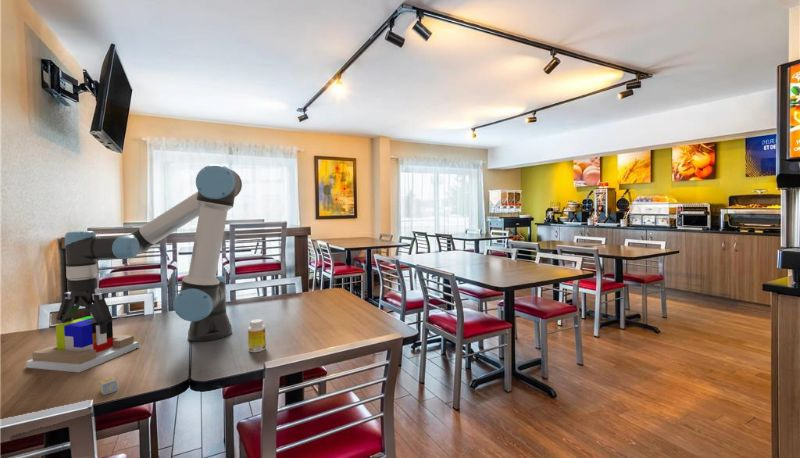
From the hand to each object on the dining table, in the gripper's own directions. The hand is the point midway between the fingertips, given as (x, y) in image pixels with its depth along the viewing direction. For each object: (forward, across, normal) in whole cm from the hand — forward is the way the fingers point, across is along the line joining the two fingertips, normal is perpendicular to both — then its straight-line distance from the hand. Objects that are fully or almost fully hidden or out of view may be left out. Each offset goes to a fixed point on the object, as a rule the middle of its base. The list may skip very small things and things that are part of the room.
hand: (85, 342), depth 120 cm
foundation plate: (+5, 0, 0) cm, 5 cm away
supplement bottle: (+5, -53, -15) cm, 55 cm away
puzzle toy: (+3, 0, 0) cm, 3 cm away
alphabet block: (+5, -30, +18) cm, 35 cm away
